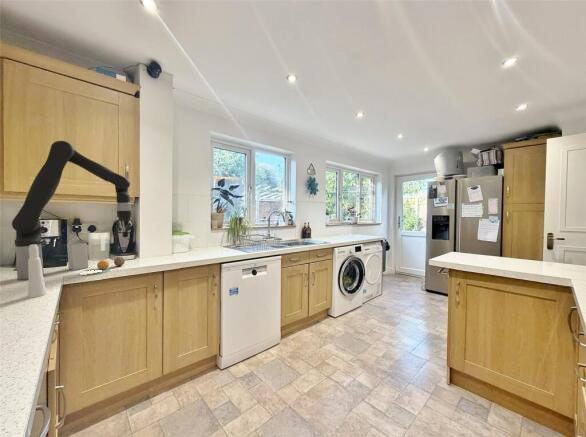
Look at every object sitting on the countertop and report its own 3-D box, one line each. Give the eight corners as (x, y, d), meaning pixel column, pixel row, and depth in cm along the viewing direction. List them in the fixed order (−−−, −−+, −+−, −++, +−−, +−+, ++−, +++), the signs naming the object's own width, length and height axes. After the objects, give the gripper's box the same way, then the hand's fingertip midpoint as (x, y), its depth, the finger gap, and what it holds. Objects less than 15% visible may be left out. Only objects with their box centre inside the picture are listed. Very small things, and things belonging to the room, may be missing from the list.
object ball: (107, 271, 147) (97, 271, 142) (102, 266, 150) (93, 265, 144) (112, 264, 148) (103, 263, 143) (108, 258, 150) (99, 257, 145)
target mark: (78, 277, 132) (78, 276, 132) (78, 271, 143) (78, 270, 143) (111, 272, 141) (111, 271, 141) (109, 266, 152) (109, 266, 152)
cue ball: (127, 257, 158) (123, 266, 157) (117, 255, 156) (113, 264, 155) (124, 258, 153) (121, 267, 152) (114, 256, 151) (111, 265, 150)
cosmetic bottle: (51, 292, 111) (47, 243, 109) (37, 297, 105) (33, 246, 103) (37, 292, 111) (32, 243, 109) (22, 297, 105) (18, 246, 103)
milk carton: (83, 266, 154) (81, 235, 152) (88, 267, 150) (86, 236, 148) (68, 268, 148) (66, 237, 146) (73, 270, 144) (71, 238, 142)
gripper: (110, 209, 156) (112, 237, 157) (125, 210, 151) (127, 238, 153) (122, 209, 163) (123, 235, 164) (137, 209, 158) (138, 236, 160)
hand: (125, 237), depth 158 cm, fingers closed
